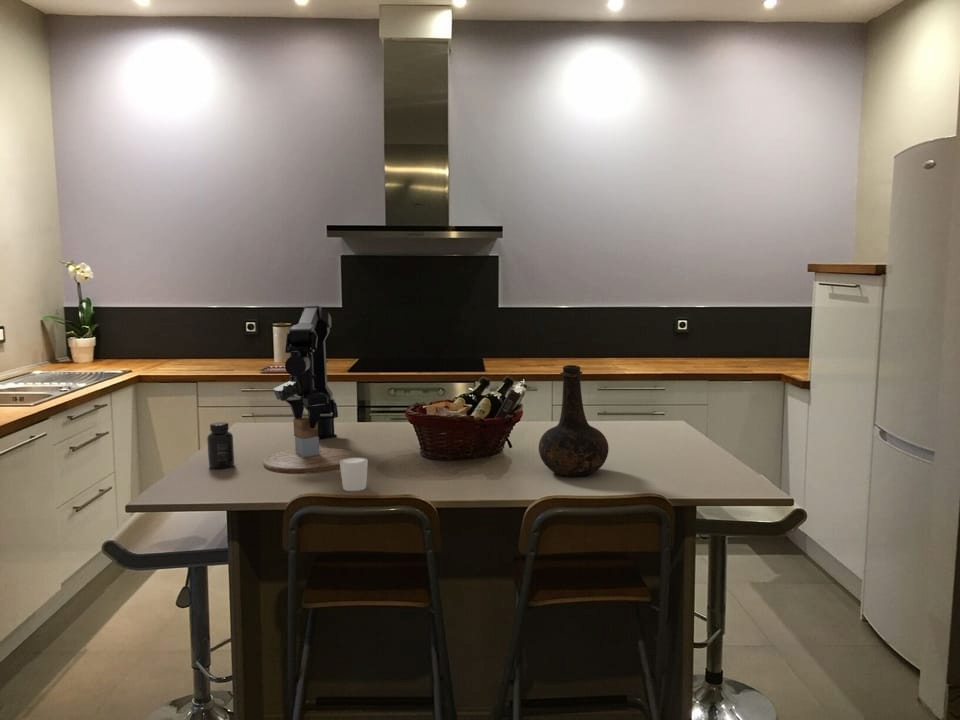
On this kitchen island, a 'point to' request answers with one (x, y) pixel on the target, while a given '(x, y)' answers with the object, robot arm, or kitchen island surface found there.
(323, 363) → the robot arm
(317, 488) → the kitchen island surface
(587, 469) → the glass bottle
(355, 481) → the white cup
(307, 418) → the walnut block
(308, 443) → the slate block
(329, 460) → the trivet
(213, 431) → the supplement bottle
